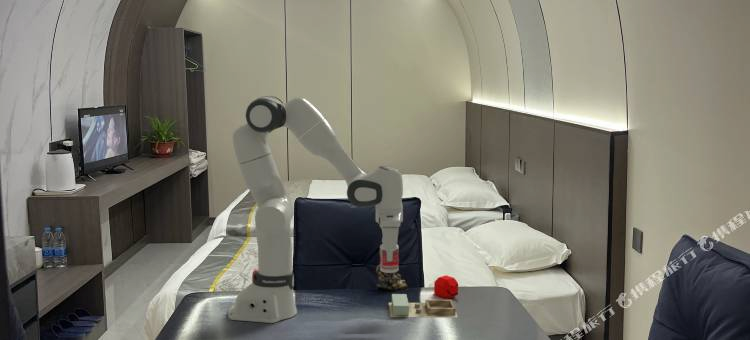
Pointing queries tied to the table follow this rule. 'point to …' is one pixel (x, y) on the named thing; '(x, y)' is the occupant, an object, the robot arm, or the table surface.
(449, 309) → the base
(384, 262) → the pill bottle
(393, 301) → the housing cover
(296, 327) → the table surface
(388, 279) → the figurine
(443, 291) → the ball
